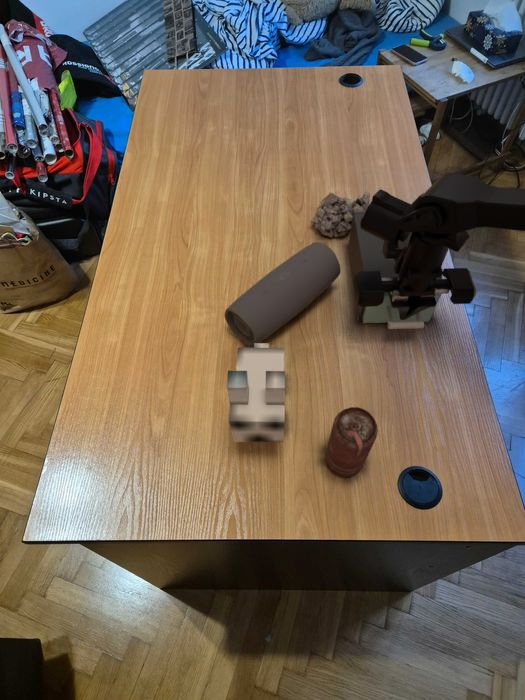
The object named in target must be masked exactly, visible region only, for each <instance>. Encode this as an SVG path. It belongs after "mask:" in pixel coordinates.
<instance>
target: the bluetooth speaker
mask: <svg viewBox="0 0 525 700" xmlns="http://www.w3.org/2000/svg"><path fill="white" fill-rule="evenodd" d="M341 272H342V271H341V264H340V262H339V259H338V257H337V255H336V253H335V252H334V250H333V249H332V247H331V248H330V246H328V245H327V244H325V243H323V242H321V241H317V242H316V241H315V242H313V243H311V244H309V245H307V246H305V247H304V248H302V249H300V250H299V251H298V252H296V253H295V254H293V255H291V256H290V257H289V258H287V259H286V260H284V261H283V262H282V263H280V264H279V265H278V266H276V267H275V268H273V270H271V271H270V272H269V273H267V274H265V276H263V277H262V278H261V279H260V280H258V281H257V282H255V284H253V285H252V286H251V287H249V288H248V289H247V290H246V291H245V292H243V293H242V294H241V295H240V296H239V297H238V298H236V299H235V300H234V301H233V302H232V303H231V304H229V306H228V307H227V308H226V309H225V311H224V319H225V322H226V324H227V326H228V327H229V329H230V330H231V332H232V333H233V334H234V335H235V336H236V337H237V338H238V339H240V340H241V341H242V342H243V343H244V344H245V345H246V346H248V347H254V343H262V342H263V341H264V340H266V339H267V338H268V337H270V336H271V335H272V334H274V333H275V332H276V331H278V330H279V329H280V328H282V327H283V326H284V325H286V324H287V323H288V322H290V321H291V320H292V319H294V318H295V317H296V316H298V315H299V314H300V313H301V312H302V311H304V310H305V309H306V308H307V307H308V306H309V305H310V304H311V303H312V302H313V301H314V300H315V299H317V298H318V297H319V296H320V295H321V294H322V293H323V292H324V291H325V290H326V289H328V288H329V287H330V286H331V285H332V284H333V283H334V282H335V281H336V280H337V278H339V276H340V274H341Z"/></svg>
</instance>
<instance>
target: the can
mask: <svg viewBox="0 0 525 700" xmlns="http://www.w3.org/2000/svg"><path fill="white" fill-rule="evenodd" d="M378 433H379V430H378V424H377V421H376V419H375V417H374V416H373V415H372V414H371V412H370V411H367V410H366V409H365V408H361V407H358V406H351V407H348V408H344V409H343V410H340V411H339V412H338V413H337V415H335V417H334V419H333V422H332V427H331V430H330V434H329V437H328V441H327V445H326V446H327V447H326V450H325V454H324V457H325V463H326V466H327V468H328V469H329V470H330V472H332V473H333V474H334V475H336V476H338V477H341V478H351V477H354V476H356V475H357V474H359V473H360V472H361V470H362V468H363V467H364V465H365V463H366V461H367V459H368V456H369V455H370V453H371V450H372V448H373V446H374V443H375V442H376V439H377V437H378Z"/></svg>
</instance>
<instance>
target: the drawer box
mask: <svg viewBox="0 0 525 700" xmlns="http://www.w3.org/2000/svg"><path fill="white" fill-rule="evenodd" d="M364 214H365V212H354V214H353V220H352V225H351V229H350V230H349V238H348V244H347V251H348V258H349V265H350V271H351V278H352V285H353V291H354V298H355V305H356V313H357V318H358V321H359V322H363V314H364V311H365V307H361V306H359V305H358V304H357V297H356V291H355V285H354V278H355V274H356V273H357V272H358V271H380V273H381V278H395V277H398V274H395V271H394V266H395V263H396V262H395V260H394V259H386V258H385V257H384V255H383V244H384V240H382V239H380V238H378V237H376V236H374V235H372V234H370V233H368V232H366V231H364V230H362V229H361V227H360V224H361V219H362V218H363V217H364ZM411 234H412V232H411V233H410V235H409V236H408V238H410V237H411ZM436 279H443V276H442V277H441V278H436Z"/></svg>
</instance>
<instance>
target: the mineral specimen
mask: <svg viewBox="0 0 525 700" xmlns="http://www.w3.org/2000/svg"><path fill="white" fill-rule="evenodd" d="M370 199H371V193H370V191H366V192H364V193H363V195H359V196H357V197H356V199H353V198H351V199H349V198H347V197H343V198H342V197H339V196H338V195H337V193H333V192H329V193H328V194H327V195H326V196H325V197H324V198H323V199H322V200H321V201H320V202H319V203H320V204H318V206H317V207H316V209H315V213H314V216H313V217H312V219H311V220H309V221H310V224H311V225H313V226H314V228H315V229H316V230H318V231H319V232H320V234H322V235H323V236H326V237H329V238H332V237H335V238H339V237H344V236H345V235H346V234H347V233H348V232H350V231H351V225H352V220H353V214H354V212H366V210H367V208H368V206H369V205H370V203H371V200H370Z"/></svg>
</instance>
